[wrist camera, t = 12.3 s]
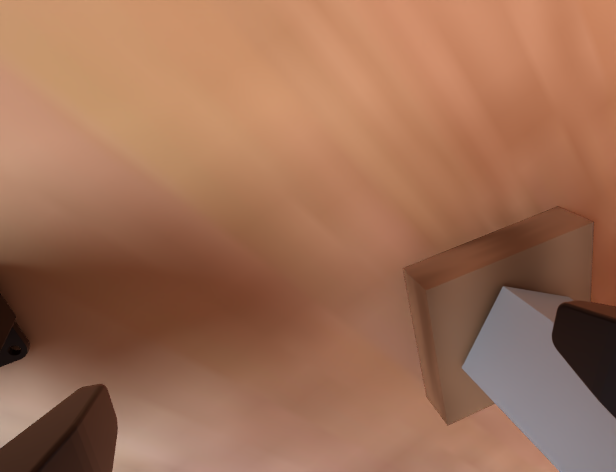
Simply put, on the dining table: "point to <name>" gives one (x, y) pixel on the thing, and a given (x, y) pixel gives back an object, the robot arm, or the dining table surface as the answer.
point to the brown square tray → (489, 295)
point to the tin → (540, 383)
